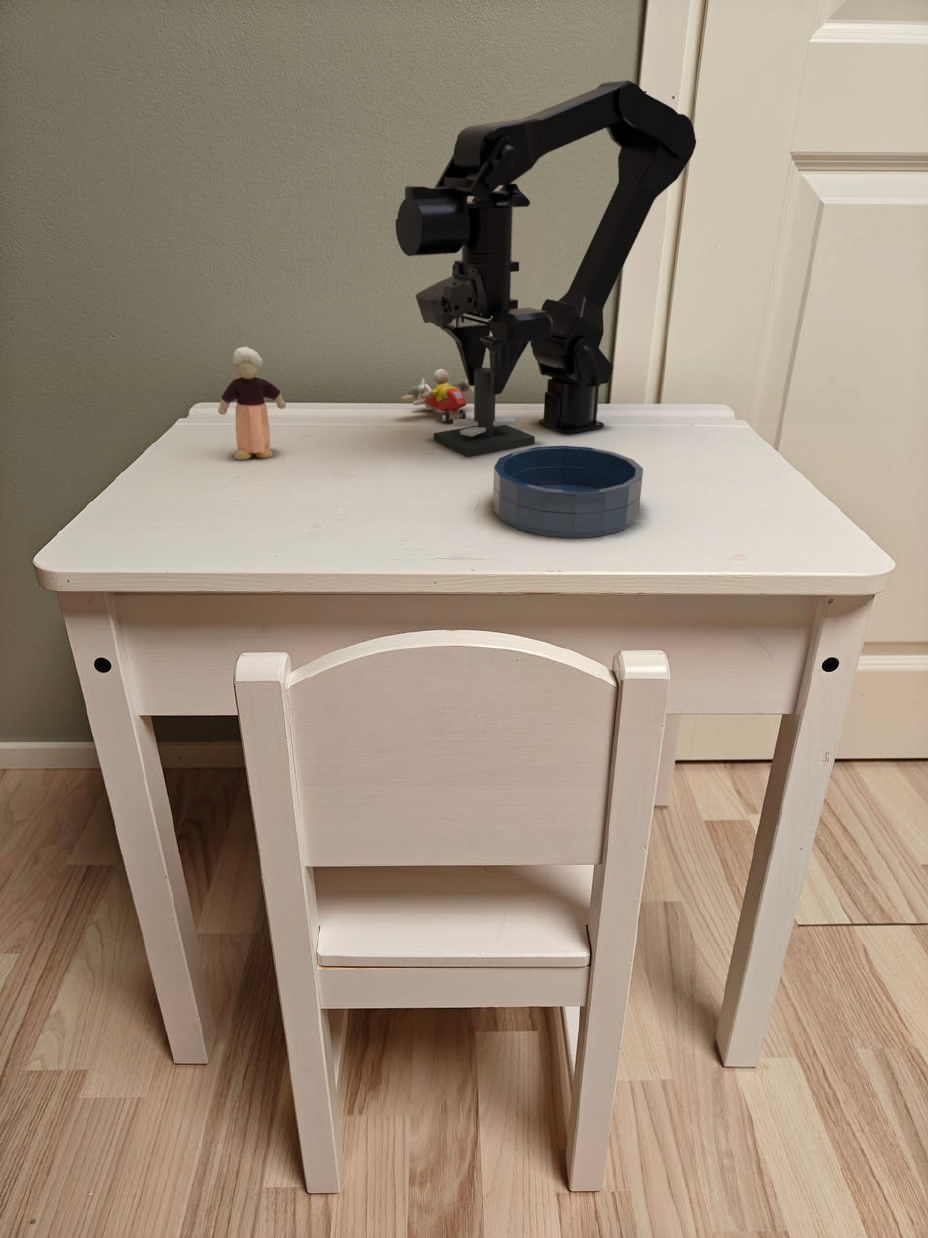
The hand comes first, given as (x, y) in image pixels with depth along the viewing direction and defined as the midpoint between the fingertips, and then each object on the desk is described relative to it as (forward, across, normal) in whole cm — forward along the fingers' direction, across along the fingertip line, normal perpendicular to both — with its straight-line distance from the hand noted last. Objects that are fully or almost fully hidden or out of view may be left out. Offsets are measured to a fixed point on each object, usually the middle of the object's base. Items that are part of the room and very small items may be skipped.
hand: (484, 389), depth 105 cm
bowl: (+7, +24, -6) cm, 26 cm away
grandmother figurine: (+7, -10, -26) cm, 29 cm away
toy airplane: (+7, -14, +2) cm, 16 cm away
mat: (+7, 0, 0) cm, 7 cm away
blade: (+6, 0, 0) cm, 6 cm away
